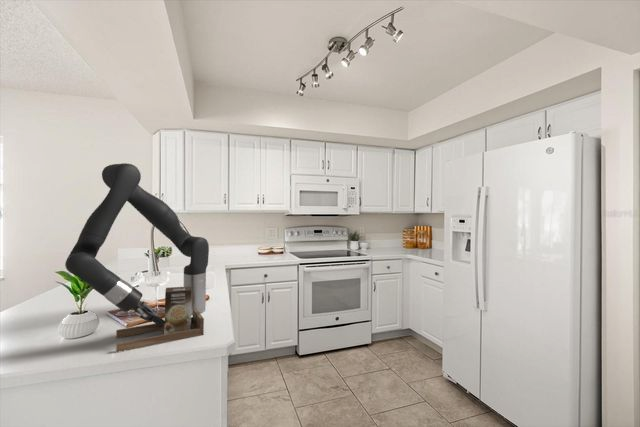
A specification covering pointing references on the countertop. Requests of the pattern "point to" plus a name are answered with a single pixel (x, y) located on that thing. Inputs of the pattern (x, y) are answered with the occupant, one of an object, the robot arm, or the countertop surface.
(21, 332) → the countertop surface
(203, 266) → the robot arm
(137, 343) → the walnut chute
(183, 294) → the coffee box
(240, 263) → the countertop surface
